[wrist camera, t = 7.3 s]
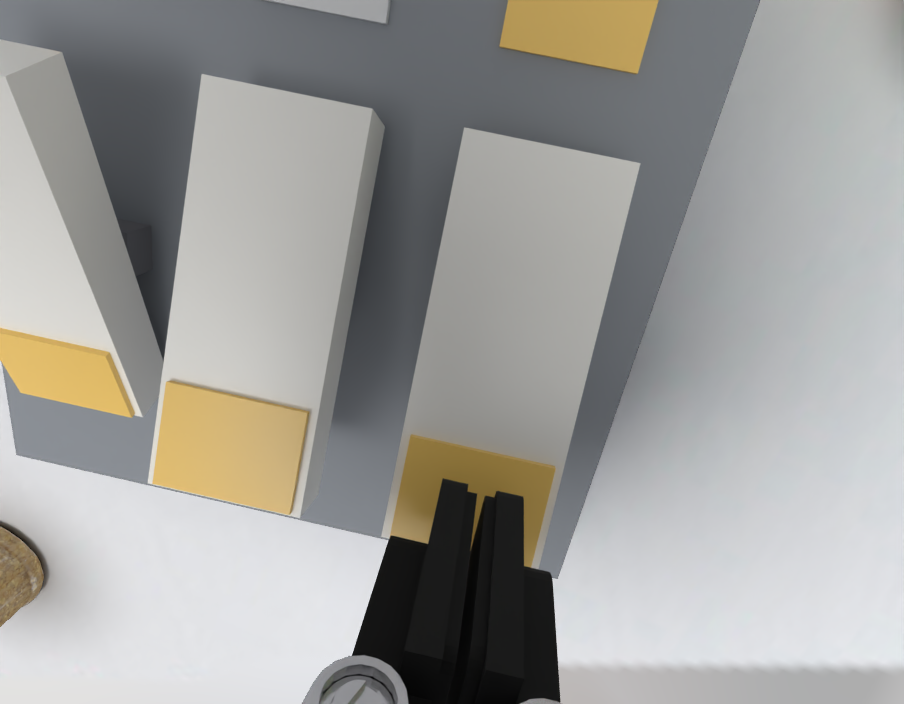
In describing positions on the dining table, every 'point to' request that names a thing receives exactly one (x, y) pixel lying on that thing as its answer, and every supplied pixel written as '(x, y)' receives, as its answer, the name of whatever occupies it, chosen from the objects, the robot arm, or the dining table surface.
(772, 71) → the dining table surface
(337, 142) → the middle rocker switch
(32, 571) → the sprinkles bottle
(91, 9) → the switch board
